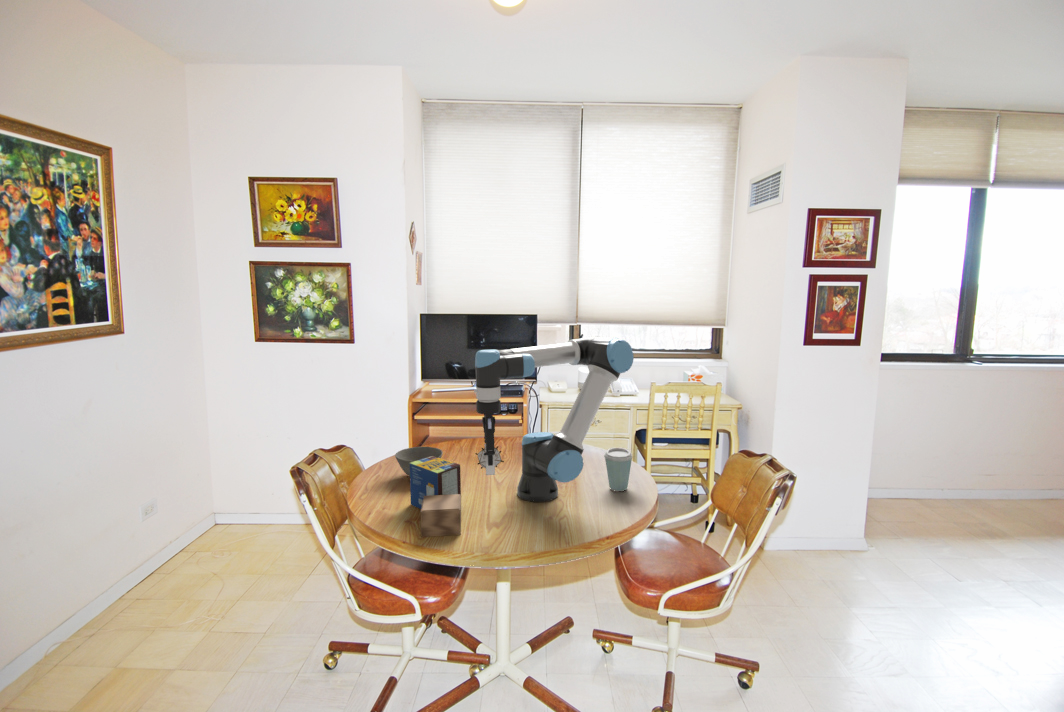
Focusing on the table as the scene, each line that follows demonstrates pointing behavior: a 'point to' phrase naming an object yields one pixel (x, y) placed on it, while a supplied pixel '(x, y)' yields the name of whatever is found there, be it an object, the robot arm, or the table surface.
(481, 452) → the game die
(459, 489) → the protein box
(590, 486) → the table surface
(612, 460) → the disposable coffee cup
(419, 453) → the bowl
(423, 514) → the walnut block
